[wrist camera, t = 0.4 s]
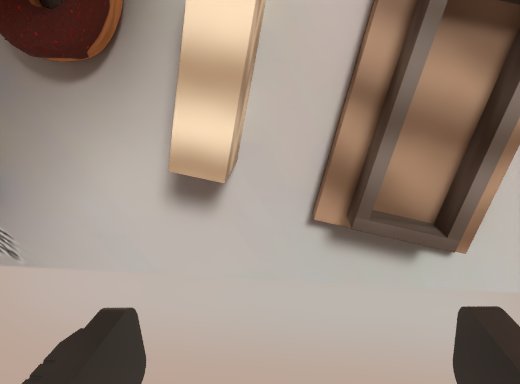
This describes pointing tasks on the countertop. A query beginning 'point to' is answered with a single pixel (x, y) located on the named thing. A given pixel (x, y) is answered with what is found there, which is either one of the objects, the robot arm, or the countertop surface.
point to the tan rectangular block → (213, 85)
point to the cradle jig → (427, 122)
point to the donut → (60, 27)
